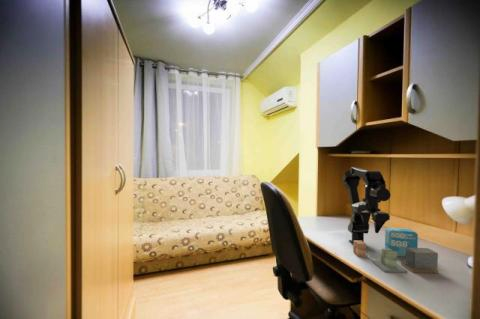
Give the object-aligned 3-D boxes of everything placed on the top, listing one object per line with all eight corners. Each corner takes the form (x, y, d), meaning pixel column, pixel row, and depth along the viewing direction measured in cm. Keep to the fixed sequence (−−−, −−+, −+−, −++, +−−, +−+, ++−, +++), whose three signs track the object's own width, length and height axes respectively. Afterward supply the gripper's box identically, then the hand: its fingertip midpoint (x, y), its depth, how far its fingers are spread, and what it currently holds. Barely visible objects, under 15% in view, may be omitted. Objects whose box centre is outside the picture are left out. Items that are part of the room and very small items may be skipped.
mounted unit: (401, 264, 97) (401, 245, 97) (424, 265, 97) (425, 246, 97) (413, 272, 90) (413, 252, 90) (438, 273, 90) (439, 253, 90)
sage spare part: (380, 262, 97) (381, 248, 97) (390, 262, 97) (390, 249, 97) (386, 267, 93) (387, 252, 93) (396, 267, 93) (396, 252, 93)
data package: (388, 255, 107) (389, 230, 107) (384, 251, 111) (385, 227, 111) (417, 258, 104) (418, 232, 104) (412, 254, 108) (412, 229, 108)
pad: (371, 261, 99) (371, 259, 99) (392, 262, 99) (392, 260, 99) (384, 272, 90) (384, 270, 90) (407, 272, 90) (407, 270, 90)
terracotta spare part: (353, 252, 109) (353, 240, 109) (361, 252, 109) (361, 240, 109) (357, 256, 105) (357, 243, 105) (366, 256, 105) (366, 243, 105)
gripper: (345, 193, 116) (344, 223, 116) (365, 200, 97) (364, 236, 97) (367, 193, 116) (366, 224, 116) (391, 201, 97) (390, 237, 97)
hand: (370, 229), depth 107 cm, fingers open, 9 cm apart
